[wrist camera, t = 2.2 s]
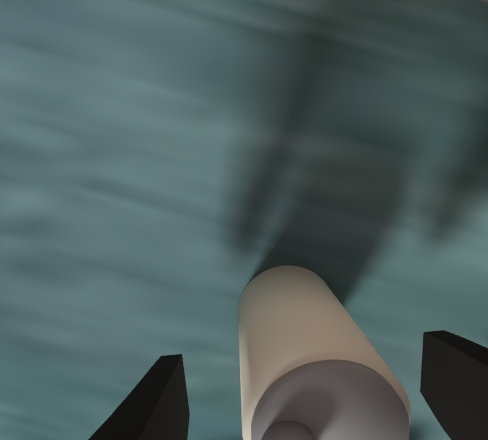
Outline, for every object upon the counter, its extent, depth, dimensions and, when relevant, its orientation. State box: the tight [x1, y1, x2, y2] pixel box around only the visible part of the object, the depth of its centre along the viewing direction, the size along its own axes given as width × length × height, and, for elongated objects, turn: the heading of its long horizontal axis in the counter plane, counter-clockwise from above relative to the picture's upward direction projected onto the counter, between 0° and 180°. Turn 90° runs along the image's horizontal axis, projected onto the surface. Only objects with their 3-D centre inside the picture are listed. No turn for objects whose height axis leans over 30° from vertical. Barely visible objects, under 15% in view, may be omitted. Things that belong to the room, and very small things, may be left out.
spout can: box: [238, 265, 411, 440], centre depth 9 cm, size 4×4×7 cm
